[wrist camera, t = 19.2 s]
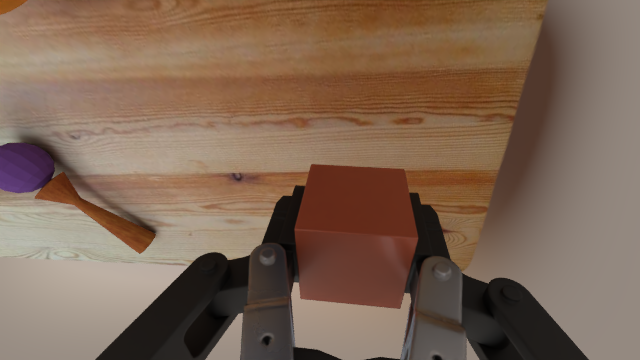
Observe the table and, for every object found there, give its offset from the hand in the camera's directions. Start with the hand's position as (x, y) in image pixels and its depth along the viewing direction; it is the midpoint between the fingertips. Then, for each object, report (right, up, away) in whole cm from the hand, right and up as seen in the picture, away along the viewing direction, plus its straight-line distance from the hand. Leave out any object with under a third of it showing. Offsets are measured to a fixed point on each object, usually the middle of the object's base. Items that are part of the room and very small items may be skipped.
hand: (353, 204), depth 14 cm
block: (0, 0, 0) cm, 0 cm away
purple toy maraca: (-33, 0, +27) cm, 43 cm away
